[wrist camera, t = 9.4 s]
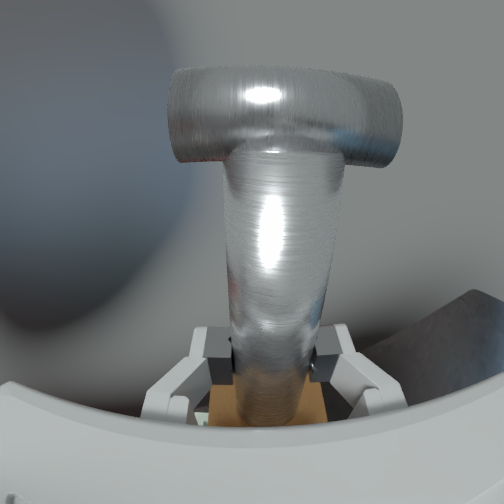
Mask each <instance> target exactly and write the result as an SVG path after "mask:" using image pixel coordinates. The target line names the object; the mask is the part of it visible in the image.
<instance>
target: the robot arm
mask: <svg viewBox="0 0 504 504" xmlns="http://www.w3.org/2000/svg"><path fill="white" fill-rule="evenodd" d="M308 375H309V381H310V383H315V382H330V383H331V384H332V386H333V387H334V388H335V389H336V390H337V391H338V392H339V393H340V394H341V395H342V396H343V398H344V399H345V400H346V401H347V402H348V403H349V404H350V405H351V406H352V407H353V408H354V409H353V411H352V412H351V414H350V416H349V417H348V419H347V420H341V421H333V422H326V423H317V424H307V425H295V426H278V427H218V426H201V425H198V423H197V420H196V417H195V415H194V412H193V409H194V408H195V407H196V406H197V405H198V403H199V402H200V401H201V400H202V398H203V397H204V396H205V395H206V393H207V392H208V391H209V390H210V388H211V387H212V385H233V378H234V368H233V355H232V344H231V329H230V327H203V326H196V327H195V329H194V333H193V338H192V343H191V348H190V354H189V357H185V358H183V359H182V360H181V361H180V362H179V363H178V364H177V365H176V366H175V367H174V368H172V369H171V370H170V371H169V372H168V373H167V374H166V375H165V376H163V378H161V379H160V380H159V381H158V382H157V383H156V384H155V385H153V386H152V387H151V388H150V389H149V390H148V391H147V394H146V398H145V401H144V405H143V409H142V413H141V417H140V418H136V417H132V416H126V415H121V414H117V413H112V412H108V411H104V410H100V409H96V408H91V407H88V406H84V405H80V404H77V403H74V402H70V401H67V400H64V399H61V398H58V397H55V396H51V395H49V394H46V393H44V392H41V391H38V390H35V389H33V388H30V387H28V386H25V385H23V384H21V383H18V382H15V381H8V382H6V383H4V384H2V385H1V386H0V504H504V371H503V372H501V373H499V374H497V375H494V376H492V377H490V378H488V379H486V380H483V381H481V382H479V383H476V384H474V385H471V386H469V387H466V388H464V389H461V390H459V391H456V392H453V393H450V394H448V395H445V396H442V397H439V398H436V399H433V400H429V401H426V402H423V403H419V404H416V405H412V406H409V407H408V405H407V403H406V400H405V397H404V395H403V392H402V389H401V387H400V384H399V382H397V381H396V380H395V379H393V378H392V377H391V376H389V375H388V374H387V373H386V372H384V371H383V370H382V369H380V368H379V367H378V366H376V365H375V364H374V363H373V362H371V361H370V360H369V359H367V358H366V357H365V356H364V355H362V354H361V353H360V352H358V353H356V351H355V348H354V345H353V342H352V340H351V337H350V334H349V331H348V329H347V326H346V325H345V324H334V325H319V328H318V332H317V337H316V341H315V345H314V349H313V353H312V357H311V361H310V365H309V369H308Z"/></svg>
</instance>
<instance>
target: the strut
mask: <svg viewBox="0 0 504 504" xmlns="http://www.w3.org/2000/svg"><path fill="white" fill-rule="evenodd" d="M168 128H169V135H170V141H171V146H172V149H173V152H174V155H175V157H176V159H177V161H178V162H180V163H188V162H210V161H223V183H224V214H225V239H226V260H227V279H228V296H229V313H230V329H231V344H232V355H233V368H234V378H233V385H212V387H211V393H210V403H209V414H208V426H218V427H278V426H295V425H307V424H317V423H326V422H328V420H327V415H326V410H325V405H324V400H323V395H322V390H321V385H320V382H315V383H310V381H309V375H308V369H309V365H310V361H311V357H312V353H313V349H314V345H315V341H316V337H317V332H318V328H319V324H320V319H321V314H322V310H323V305H324V300H325V295H326V290H327V284H328V279H329V274H330V268H331V263H332V257H333V251H334V245H335V239H336V232H337V225H338V218H339V211H340V203H341V194H342V186H343V177H344V167H345V165H354V166H364V167H374V168H384V167H386V166H387V165H389V164H390V163H391V161H392V160H393V159H394V157H395V155H396V153H397V151H398V148H399V145H400V141H401V136H402V128H403V114H402V107H401V102H400V99H399V96H398V94H397V92H396V90H395V88H394V87H393V86H392V85H391V84H390V83H389V82H387V81H384V80H379V79H374V78H370V77H365V76H360V75H354V74H348V73H342V72H336V71H329V70H321V69H312V68H302V67H289V66H267V65H231V66H229V65H228V66H208V67H195V68H185V69H178V70H176V71H175V73H174V74H173V76H172V79H171V83H170V88H169V95H168Z"/></svg>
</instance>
